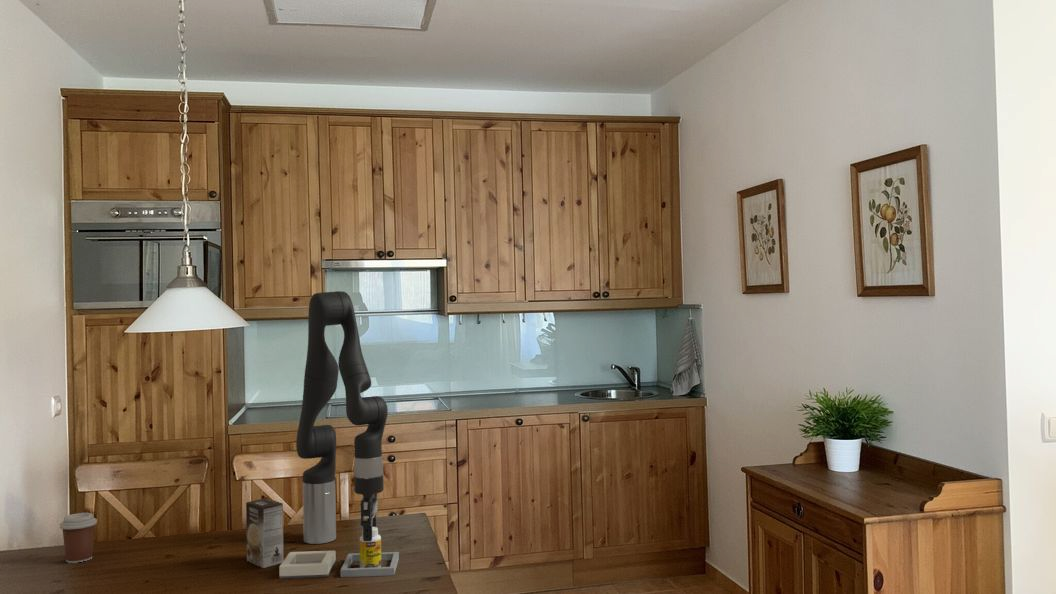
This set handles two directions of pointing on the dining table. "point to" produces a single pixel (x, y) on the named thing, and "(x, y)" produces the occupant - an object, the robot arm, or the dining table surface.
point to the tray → (372, 571)
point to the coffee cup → (78, 536)
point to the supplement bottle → (370, 550)
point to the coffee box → (264, 532)
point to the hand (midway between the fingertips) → (369, 536)
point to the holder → (307, 564)
